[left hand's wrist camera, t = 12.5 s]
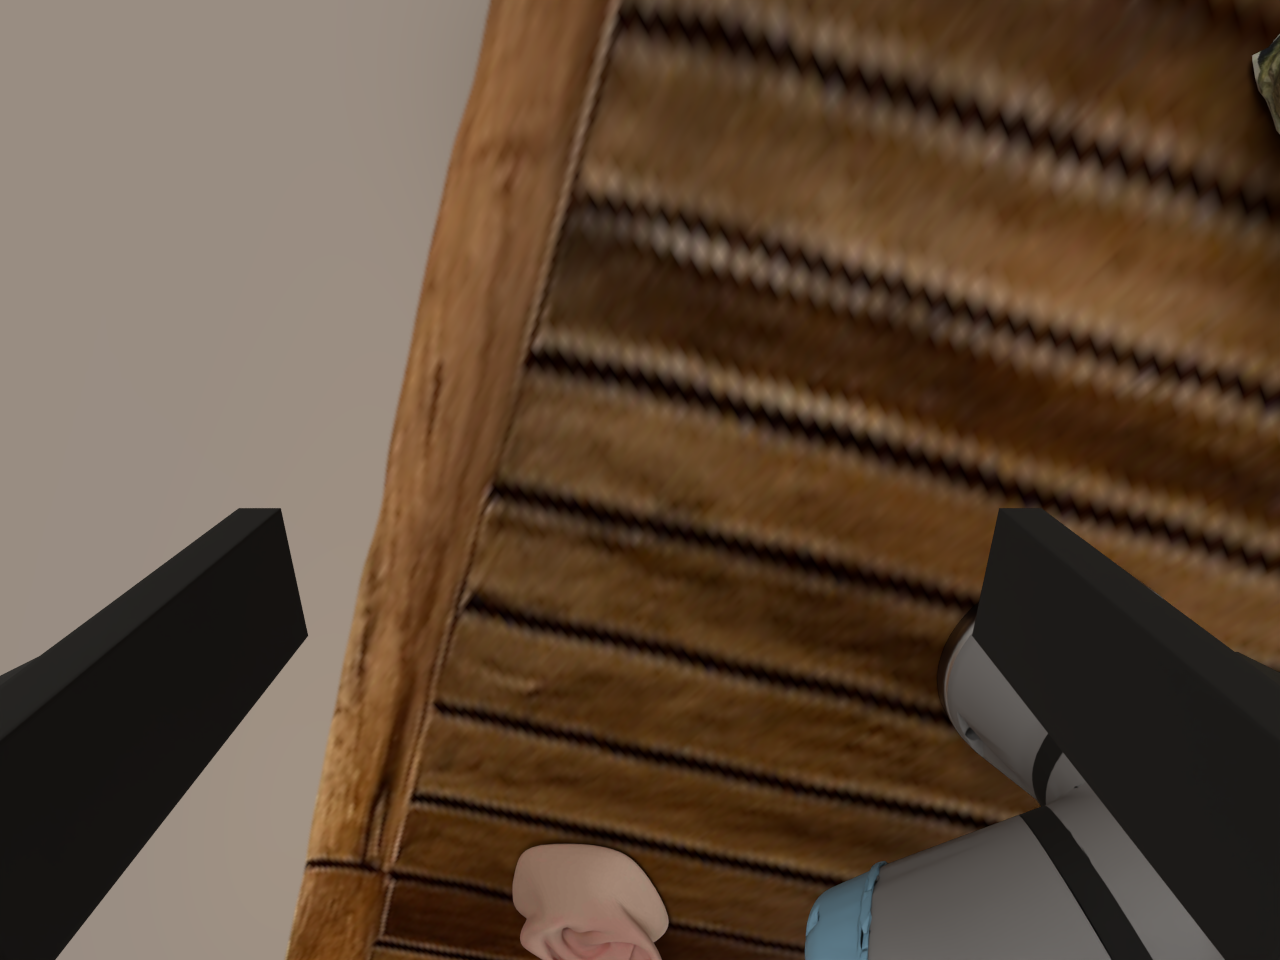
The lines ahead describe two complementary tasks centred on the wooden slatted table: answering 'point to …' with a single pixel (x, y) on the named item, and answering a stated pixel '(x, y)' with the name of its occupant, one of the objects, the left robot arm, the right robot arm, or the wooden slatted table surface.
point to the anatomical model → (587, 904)
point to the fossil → (1269, 77)
